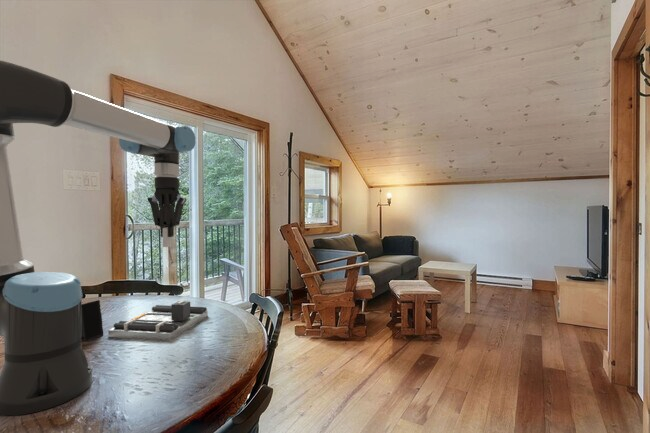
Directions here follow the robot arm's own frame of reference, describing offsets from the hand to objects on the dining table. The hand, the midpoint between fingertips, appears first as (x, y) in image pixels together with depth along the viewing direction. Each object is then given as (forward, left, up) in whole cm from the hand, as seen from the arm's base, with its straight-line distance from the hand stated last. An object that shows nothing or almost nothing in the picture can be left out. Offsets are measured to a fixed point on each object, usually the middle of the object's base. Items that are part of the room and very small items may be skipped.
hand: (167, 246), depth 111 cm
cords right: (+2, -3, -22) cm, 23 cm away
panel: (-7, -3, -24) cm, 26 cm away
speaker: (-18, +13, -25) cm, 33 cm away
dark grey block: (-6, -9, -22) cm, 25 cm away
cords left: (-15, -3, -22) cm, 27 cm away
